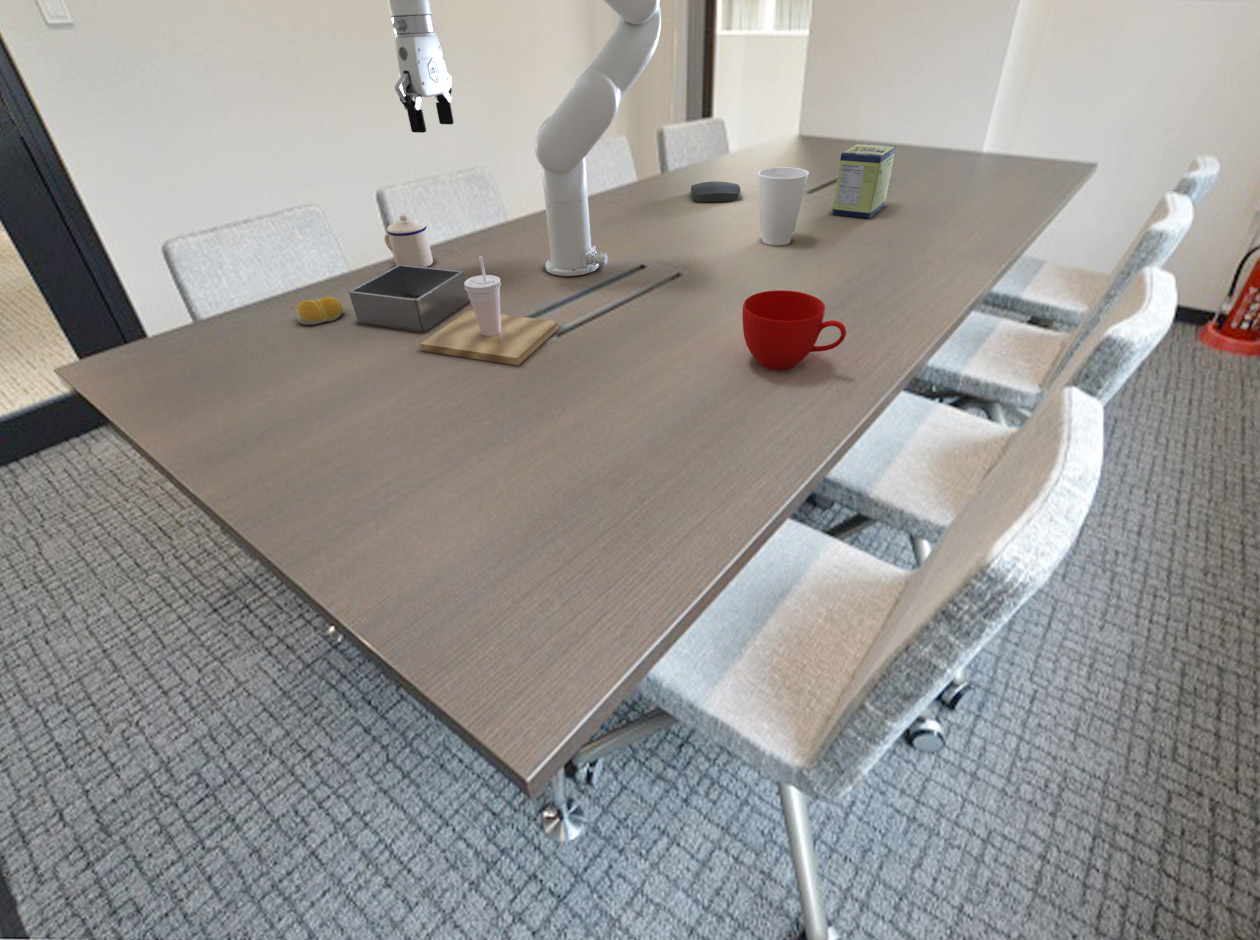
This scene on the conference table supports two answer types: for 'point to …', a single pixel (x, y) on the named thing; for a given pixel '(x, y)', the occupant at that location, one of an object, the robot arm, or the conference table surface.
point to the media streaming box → (715, 191)
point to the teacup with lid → (409, 242)
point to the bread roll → (318, 310)
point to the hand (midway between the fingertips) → (433, 128)
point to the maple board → (491, 338)
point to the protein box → (863, 180)
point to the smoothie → (485, 301)
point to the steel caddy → (389, 309)
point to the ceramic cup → (785, 327)
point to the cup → (780, 202)
